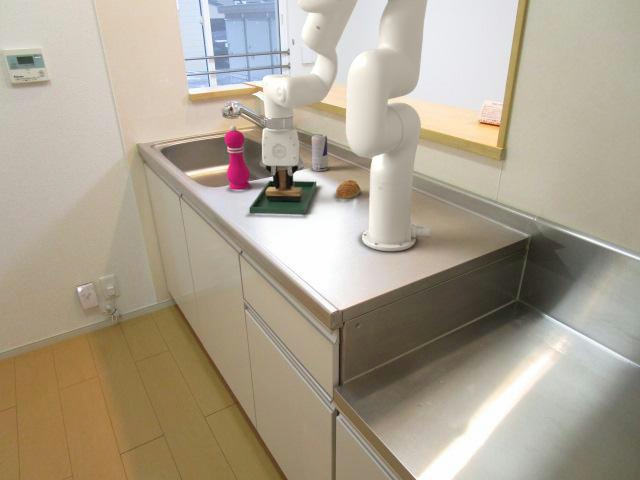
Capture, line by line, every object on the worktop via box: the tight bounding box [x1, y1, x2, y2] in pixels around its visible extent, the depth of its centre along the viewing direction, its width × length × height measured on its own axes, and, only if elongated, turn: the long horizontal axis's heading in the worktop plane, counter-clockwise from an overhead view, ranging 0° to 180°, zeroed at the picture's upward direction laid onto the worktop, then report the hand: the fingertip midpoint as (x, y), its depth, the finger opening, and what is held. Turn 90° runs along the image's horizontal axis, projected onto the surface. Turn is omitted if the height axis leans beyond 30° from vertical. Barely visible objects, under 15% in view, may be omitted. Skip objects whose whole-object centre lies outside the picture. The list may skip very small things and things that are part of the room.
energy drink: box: [311, 133, 329, 172], centre depth 158 cm, size 5×5×12 cm
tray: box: [249, 180, 317, 216], centre depth 132 cm, size 15×23×2 cm, turn 172°
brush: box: [266, 167, 302, 201], centre depth 129 cm, size 10×4×9 cm, turn 83°
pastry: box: [336, 179, 361, 200], centre depth 134 cm, size 9×7×4 cm
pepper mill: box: [224, 124, 251, 191], centre depth 140 cm, size 7×7×20 cm
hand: (283, 187), depth 129 cm, fingers closed on brush, 2 cm apart
